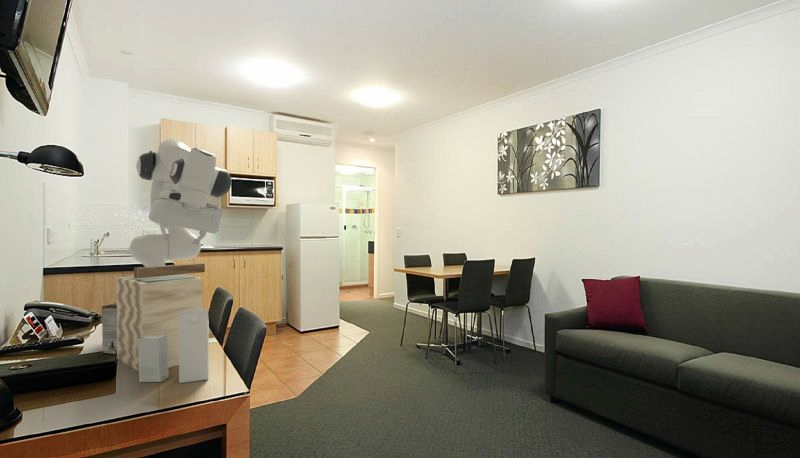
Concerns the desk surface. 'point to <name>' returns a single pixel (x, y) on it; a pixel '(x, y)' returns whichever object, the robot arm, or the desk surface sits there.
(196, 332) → the milk carton
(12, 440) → the desk surface
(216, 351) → the desk surface
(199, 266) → the walnut bar
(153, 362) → the skincare box
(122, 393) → the desk surface
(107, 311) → the coffee box
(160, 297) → the birch stand
